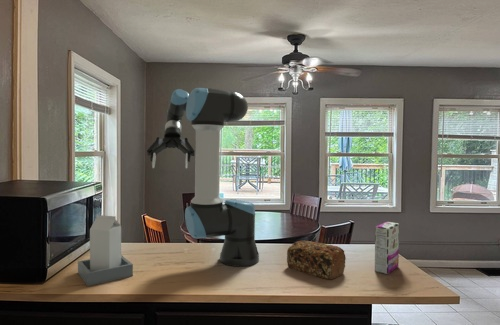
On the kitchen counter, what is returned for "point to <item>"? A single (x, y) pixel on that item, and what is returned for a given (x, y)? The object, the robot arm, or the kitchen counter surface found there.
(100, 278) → the bin
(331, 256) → the bread
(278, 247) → the kitchen counter surface
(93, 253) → the milk carton
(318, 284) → the kitchen counter surface
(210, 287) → the kitchen counter surface
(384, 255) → the candy bar box
